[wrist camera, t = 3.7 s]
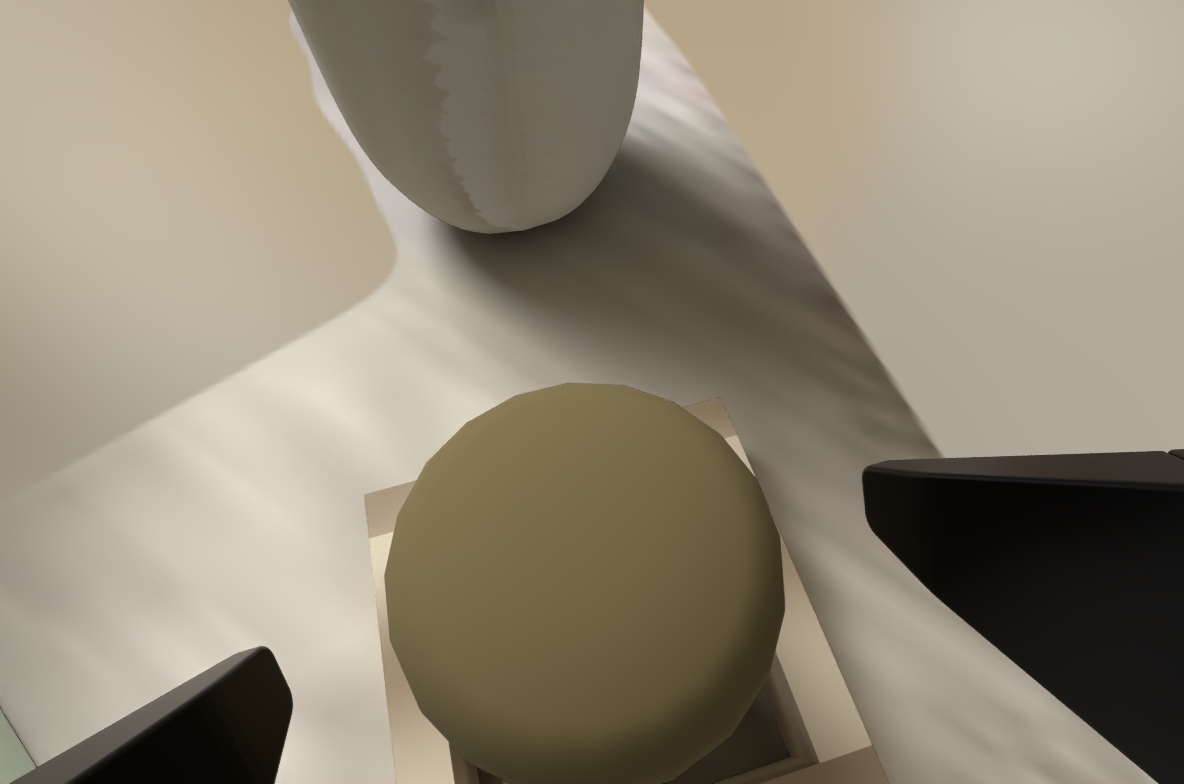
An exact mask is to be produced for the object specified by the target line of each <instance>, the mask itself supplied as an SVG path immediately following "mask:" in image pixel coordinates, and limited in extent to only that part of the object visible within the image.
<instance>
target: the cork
mask: <svg viewBox="0 0 1184 784" xmlns="http://www.w3.org/2000/svg"><path fill="white" fill-rule="evenodd" d="M384 581H385V592H386V603H387V615H388V626H389V637H390V642H391V645H392V647H393V649H394V652H395V654H396V656H397V659H398V661H399V663H400V666H401V668H402V670H403V672H404V675H405V677H406V679H407V682H408V684H409V686H410V688H411V691H412V693H413V695H414V698H415V700H416V702H417V704H418V707H419V709H420V711H421V713H422V714H423V715H424V716H425V717H426V718H427V719H428V720H429V721H430V722H431V723H432V725H433V726H434V727H435V728H436V729H437V730H438V731H439V732H440V733H441V734H442V735H443V736H444V737H445V738H446V739H447V741H448V742H449V743H450V744H451V745H452V746H453V747H454V748H455V749H456V750H457V751H458V752H459V753H460V754H461V755H462V756H463V758H464V759H465V760H466V761H467V762H468V763H470V764H472V765H474V766H476V767H478V768H480V769H482V770H484V771H486V772H488V773H490V774H492V775H494V776H496V777H498V778H500V779H502V780H504V781H506V782H508V783H510V784H661V783H664V782H668V781H671V780H674V779H676V778H677V777H678V776H679V775H681V774H682V773H683V772H685V771H686V770H687V769H689V768H690V767H691V766H693V765H694V764H695V763H696V762H698V761H699V760H700V759H702V758H703V757H704V756H706V755H707V754H708V753H709V752H711V751H712V750H713V749H715V748H716V747H717V746H719V745H720V744H721V743H723V742H724V741H725V740H726V739H728V738H729V737H730V736H731V735H732V734H733V732H734V731H735V729H736V728H737V726H738V725H739V723H740V721H741V720H742V718H743V717H744V715H745V714H746V712H747V710H748V709H749V707H750V706H751V704H752V703H753V701H754V700H755V698H756V696H757V695H758V693H759V692H760V690H761V689H762V687H763V685H764V684H765V682H766V681H767V679H768V678H769V676H770V671H771V667H772V663H773V659H774V655H775V651H776V647H777V643H778V639H779V634H780V630H781V626H782V622H783V618H784V614H785V592H784V580H783V567H782V554H781V541H780V535H779V532H778V530H777V527H776V525H775V522H774V520H773V517H772V515H771V512H770V510H769V507H768V505H767V502H766V500H765V497H764V495H763V492H762V490H761V488H760V485H759V483H758V480H757V478H756V477H755V476H754V475H753V474H752V472H751V471H750V470H749V469H748V467H747V466H746V465H745V464H744V462H743V461H742V460H741V459H740V457H739V456H738V455H737V454H736V452H735V451H734V450H733V449H732V448H731V446H730V445H729V444H728V443H727V441H726V440H725V439H724V438H723V436H722V435H721V434H720V433H718V432H717V431H715V430H714V429H713V428H711V427H710V426H708V425H707V424H705V423H704V422H702V421H701V420H699V419H698V418H697V417H695V416H694V415H692V414H691V413H689V412H688V411H686V410H685V409H683V408H682V407H680V406H679V405H678V404H676V403H675V402H672V401H669V400H666V399H663V398H660V397H657V396H654V395H651V394H648V393H645V392H642V391H639V390H636V389H633V388H630V387H627V386H624V385H607V384H583V383H566V384H562V385H558V386H553V387H549V388H545V389H541V390H537V391H532V392H528V393H524V394H520V395H516V396H514V397H512V398H510V399H508V400H507V401H505V402H503V403H501V404H499V405H498V406H496V407H494V408H492V409H490V410H489V411H487V412H485V413H483V414H481V415H480V416H478V417H476V418H474V419H472V420H471V421H469V422H467V423H466V424H465V425H464V426H463V427H462V428H461V429H460V430H459V431H458V432H457V433H456V434H455V435H454V436H453V437H452V438H451V439H450V440H449V441H448V442H447V443H446V444H445V445H444V446H443V447H442V448H441V449H440V450H439V451H438V452H437V453H436V454H435V455H434V456H433V457H432V458H431V459H430V460H429V461H428V462H427V463H426V464H425V466H424V468H423V470H422V472H421V473H420V475H419V477H418V479H417V481H416V482H415V484H414V486H413V488H412V490H411V491H410V493H409V495H408V497H407V499H406V500H405V502H404V504H403V506H402V508H401V509H400V511H399V513H398V515H397V519H396V524H395V528H394V533H393V537H392V542H391V547H390V551H389V556H388V560H387V565H386V569H385V574H384Z"/></svg>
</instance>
